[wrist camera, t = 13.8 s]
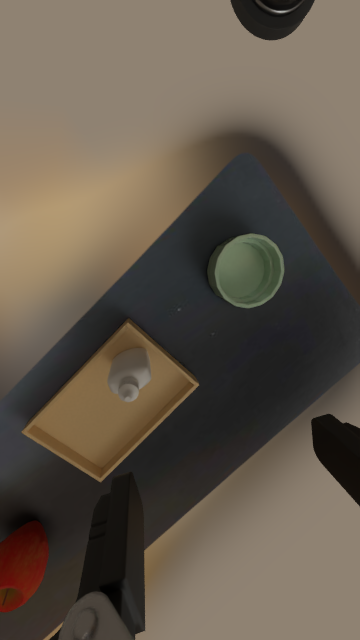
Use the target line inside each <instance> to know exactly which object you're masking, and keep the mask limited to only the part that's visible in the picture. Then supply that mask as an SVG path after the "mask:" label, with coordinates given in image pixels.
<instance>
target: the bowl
mask: <svg viewBox="0 0 360 640" xmlns="http://www.w3.org/2000/svg"><path fill="white" fill-rule="evenodd" d="M207 274H208V280H209V284H210V286H211V288H212V289H213V291H214V292H215V294H216V295H217V296H218V297H220V298H221V299H223V300H224V301H226V302H228V303H230V304H232V305H234V306H238V307H244V308H251V307H255V306H259V305H262V304H263V303H265V302H266V301H268V300H269V299H270V298H272V297H273V296H274V294H275V293H276V291H277V290H278V288H279V287H280V285H281V282H282V278H283V274H284V263H283V256H282V254H281V253H280V251H279V249H278V247H277V245H276V244H275V243H273V242H272V241H271V240H270V239H268V238H267V237H266V236H262V235H258V234H253V233H251V234H246V235H242V236H237V237H233V238H229V239H227V240H226V241H224V242H223V243H221V244H220V245H219V246H217V248H216V249H215V251H214V252H213V254H212V255H211V257H210V260H209V264H208V269H207Z"/></svg>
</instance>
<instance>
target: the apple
mask: <svg viewBox="0 0 360 640" xmlns="http://www.w3.org/2000/svg"><path fill="white" fill-rule="evenodd" d="M48 553H49V548H48V540H47V536H46V534H45V531H44V529H43V526H42V524H41V523H40V522H38V521H31V522H28V523H26V524H25V525H23V526H22V527H20V528H19V529H17V530H16V531H14V532H13V533H12V534H11V535H9V536H8V537H7V538H6V539H5V540H4V541H2V542H1V543H0V612H9V611H12V610H14V609H16V608H18V607H20V606H21V605H23V604H25V602H26V601H27V600H28V599H29V598H30V597H31V596H32V595H33V594H34V593H35V592H36V590H37V589H38V587H39V585H40V583H41V581H42V580H43V577H44V573H45V568H46V564H47V560H48Z"/></svg>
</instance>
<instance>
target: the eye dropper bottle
mask: <svg viewBox="0 0 360 640" xmlns="http://www.w3.org/2000/svg"><path fill="white" fill-rule="evenodd" d="M150 380H151V366H150V357H149V354H148V352H147V350H146V349H145V348H131V349H128V350H125V351H123V352H121V353H120V354H118V355H117V356H116V357H114V359H113V360H112V364H111V367H110V371H109V375H108V379H107V382H108V386H109V388H110V390H111V392H112V393H115V394H118V396H119V398H120V399H121V400H123V401H125V402H131V401H133V400H135V399H136V398H137V397H138V395H139V389H141V388H143V387H144V386H145V385H146V384H147V383H148V382H149V381H150Z"/></svg>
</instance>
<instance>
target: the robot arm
mask: <svg viewBox="0 0 360 640" xmlns="http://www.w3.org/2000/svg"><path fill="white" fill-rule="evenodd" d="M252 1H253V3H254V4H255V5H256V6H257V7H258V8H259V9H260V10H261V11H262V12H264V13H266V14H268V15H270V16H274V17H283V16H287V15H289V14H291V13H293V12H294V11H295V10H297V9H298V8H299V7H300V5H301V4H302V3H303V1H304V0H252ZM311 425H312V436H313V448H314V451H315V454H316V456H317V457H318V459H319V461H320V462H321V463H322V464H323V465H324V467H325V468H326V469H327V470H328V471H329V472H330V473H331V475H332V476H333V477H334V478H335V479H336V480H337V481H338V482H339V483H340V485H341V486H342V487H343V488H344V489H345V490H346V491H347V492H348V494H349V495H350V496H351V497H352V498H353V499H354V500H355V502H356V503H357V504H358V505H359V506H360V428H358V427H356V426H353V425H351V424H349V423H341V422H340V421H339V420H338V419H336V418H335V417H334V416H333V415H331V414H326V415H323V416H320V417H316V418H313V419H312V421H311ZM144 587H145V585H144V516H143V507H142V502H141V498H140V495H139V492H138V488H137V485H136V482H135V479H134V476H133V473H132V472H128V473H125V474H122V475H118V476H115V477H113V479H112V486H111V493H109V494H106V495H103V496H101V498H100V500H99V502H98V503H97V505H96V507H95V509H94V512H93V518H92V523H91V529H90V534H89V541H88V545H87V550H86V556H85V561H84V566H83V572H82V577H81V583H80V588H79V593H78V597H77V600H76V603H75V605H74V606H73V607H72V608H71V610H70V611H69V613H68V614H67V616H66V618H65V620H64V622H63V625H62V627H61V628H60V630H59V631H58V632H57V633H56V634H55V635H54V636H53V637H51V638H50V640H135V634H137V633H140V632H143V631H145V588H144Z"/></svg>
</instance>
